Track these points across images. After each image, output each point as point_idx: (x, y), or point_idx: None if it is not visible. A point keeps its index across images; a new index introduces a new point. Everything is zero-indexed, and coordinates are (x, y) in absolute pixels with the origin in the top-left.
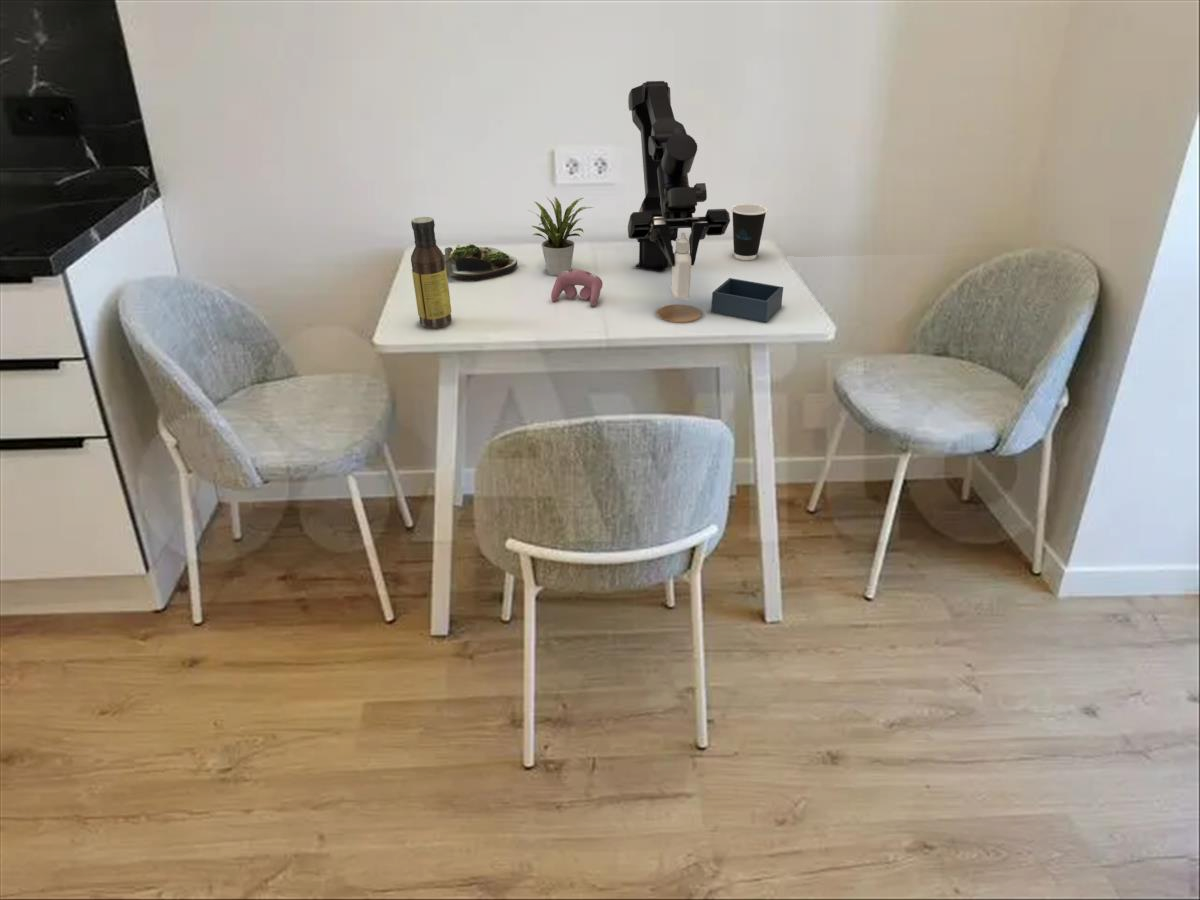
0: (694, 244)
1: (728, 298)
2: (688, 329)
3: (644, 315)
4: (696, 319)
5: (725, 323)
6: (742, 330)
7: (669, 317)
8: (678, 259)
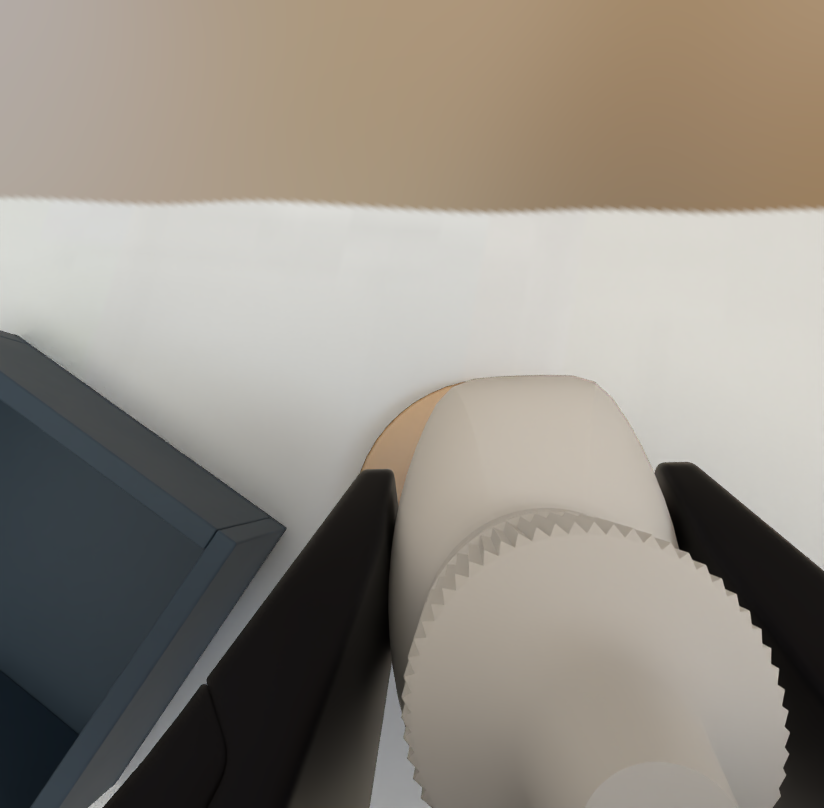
0: (272, 712)
1: (143, 466)
2: (475, 280)
3: None
4: (401, 414)
5: (241, 350)
6: (173, 243)
7: None
8: (625, 437)
